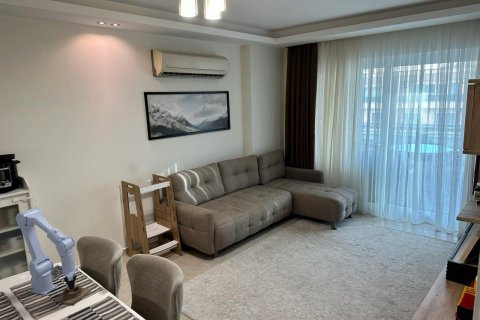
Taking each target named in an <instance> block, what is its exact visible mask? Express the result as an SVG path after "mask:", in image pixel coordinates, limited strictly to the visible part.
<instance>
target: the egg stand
mask: <svg viewBox="0 0 480 320" xmlns="http://www.w3.org/2000/svg"><path fill="white" fill-rule="evenodd" d="M91 292H92V289H91V288H85V287H82V286H81V285H76V288H75V289H73V290H68V289H67V288H66V287H65V289H63V290H62V293H61V294H59V295H58V296H57V297H55V298H54V299H53V302H54V303H58V304H59V303H60V304H64V305H69V306H75V305H76V304H77V303H78V302H80V301H81V300H82V299H84V298H85V297H87V295H88V294H90V293H91Z"/></svg>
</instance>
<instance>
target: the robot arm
mask: <svg viewBox="0 0 480 320" xmlns="http://www.w3.org/2000/svg"><path fill="white" fill-rule="evenodd" d="M43 213H44V211H42V209H40V208H39V207H37V206H35V207H33V208H30V209H27V210H24V211H21V212H19V213H17V214H16V216H15V220H16V221H15V222H16V223H17V226H18V229H19V230H20V231H21V232H22V236H23V238H24V241H25V242H26V245H27V248H28V251H29V253H30V256H31V261H30V262H29V263H28V268H29V274H30V276H31V277H30V285H31V291H30V292H31V293H34V294H39V295H44V296H45V295H47V294H48V293H50V292H51V291H52V290H54V289H55V288H57V287H58V285H57V284H53V280H52V276H51V272H52V269H53V267H55V264H54V261H53V260H52V259H51V257H50V255H47V254H44V251H43V249H42V246H41V243H40V241H39V238H38V235H37V233H36V230H35V227H34V226H37V227H38V228H39V229H41V230H42V231H43V232H45V233H46V238H47V239H49V240H50V241H51V242H52V243H53V244H54V245H55V249H56V251H57V253H58V255H59V257H60V262H61V266H62V273H63V276H64V277H63V282H65V283H66V285H68V288H69V290H72V289H74V288H75V282H76V280H77V278H78V277H77V274H76V271H78V270H79V267H78V266H76V263H75V262H76V261H75V256H74V249H73V248H74V247H75V245H76V242H75V240H74V239H73V238H72V236H68V235H65V234H64V233H63V232H62V231H61V230H60V229H59V228H57V227H53V226H52V225H51V224H50V222H49V221H48V220H47V219H46V218H45V217H44V214H43Z"/></svg>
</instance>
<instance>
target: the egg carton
mask: <svg viewBox="0 0 480 320" xmlns="http://www.w3.org/2000/svg"><path fill="white" fill-rule="evenodd" d="M62 274H63V273H62V265H59V264H56V265H54V267H53V269H52V272H51V276H52V281H53V280H55V278H57V277H58V278H59V277H60V275H62ZM63 275H64V274H63Z"/></svg>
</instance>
